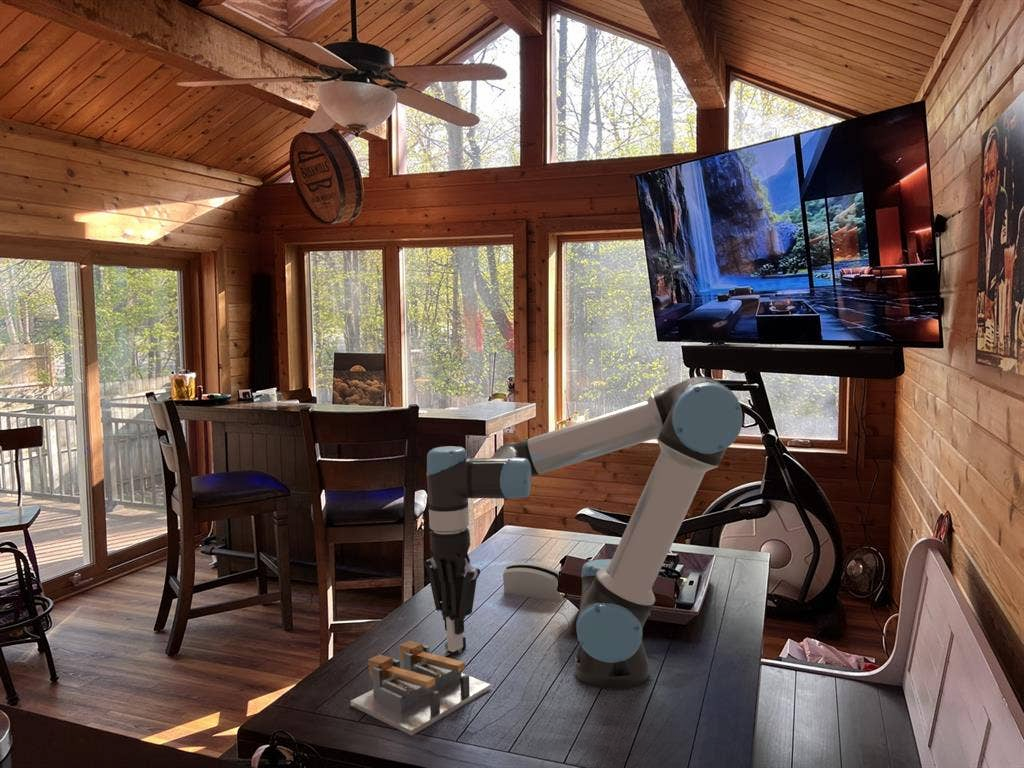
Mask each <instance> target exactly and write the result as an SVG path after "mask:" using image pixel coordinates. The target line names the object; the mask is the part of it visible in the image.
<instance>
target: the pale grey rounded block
mask: <svg viewBox="0 0 1024 768" xmlns="http://www.w3.org/2000/svg"><path fill="white" fill-rule="evenodd" d="M559 572H560V571H559V570H557V569H556V568H555V569H554V568H552V567H550V566H547V565H543V564H539V563H535V562H534V563H533V562H514V563H509V564H508V565H507V566H506V568H505V569H504V570H503V573H502V578H503V594H508V595H509V594H510V595H516V596H521V597H522V596H524V597H530V598H537V599H543V600H549V601H556V602H562V601H564V595H563V594H560V593H559V592H558V591H557V585H558V575H559Z"/></svg>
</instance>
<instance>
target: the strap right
mask: <svg viewBox="0 0 1024 768" xmlns="http://www.w3.org/2000/svg"><path fill="white" fill-rule="evenodd" d="M423 644H424V643H422V642H421V643H420V642H417V641H413V640H407V641H405V642H403V643H401V644H399V645H398V650H399V657H400V659H399V660H400V663H404V653H405V652H409V653H411V654H413V657H414V665H415V664H417V665H419V664H420V662H422V663H426V664H430V665H433V666H437V667H441V668H444V669H448V670H452V671H456V672H460V671H461V672H462V671H464V669H466V662H465V661H462V660H458V659H454V658H451V657H446V656H443V655H438V654H434V653H427V652H423Z"/></svg>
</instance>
